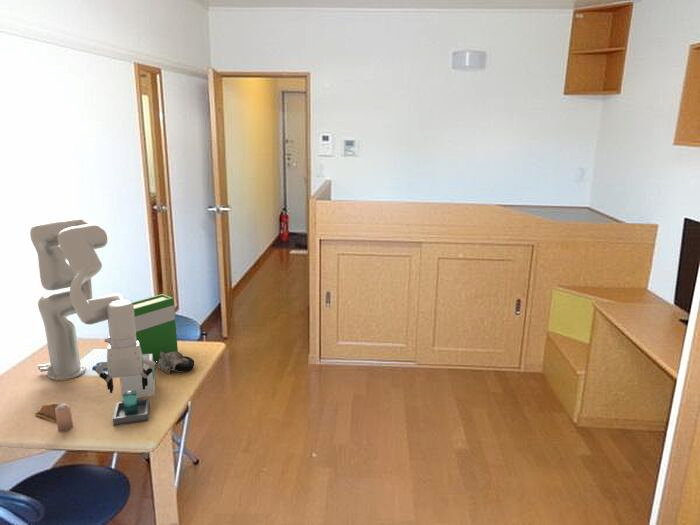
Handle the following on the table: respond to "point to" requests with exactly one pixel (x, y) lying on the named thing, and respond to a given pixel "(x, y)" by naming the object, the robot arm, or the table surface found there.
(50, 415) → the shard
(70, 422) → the terracotta cartridge
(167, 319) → the hardback book
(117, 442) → the table surface
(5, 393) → the table surface
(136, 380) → the unit
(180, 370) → the caster wheel
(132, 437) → the table surface
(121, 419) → the tray
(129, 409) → the cylinder
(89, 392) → the table surface
